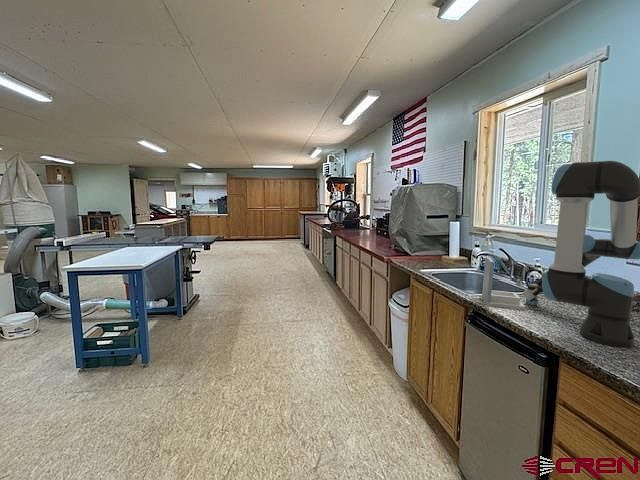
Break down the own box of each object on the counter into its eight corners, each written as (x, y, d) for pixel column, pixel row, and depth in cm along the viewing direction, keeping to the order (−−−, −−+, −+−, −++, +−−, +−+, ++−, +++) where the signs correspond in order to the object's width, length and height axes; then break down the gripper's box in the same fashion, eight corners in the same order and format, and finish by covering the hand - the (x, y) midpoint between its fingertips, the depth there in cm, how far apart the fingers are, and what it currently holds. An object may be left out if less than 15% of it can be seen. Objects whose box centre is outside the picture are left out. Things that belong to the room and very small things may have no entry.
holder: (524, 309, 153) (529, 264, 151) (486, 305, 158) (490, 261, 156) (516, 299, 170) (520, 258, 168) (482, 296, 175) (485, 256, 173)
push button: (540, 304, 162) (542, 284, 161) (542, 307, 158) (544, 286, 156) (524, 302, 165) (526, 282, 164) (525, 304, 161) (527, 284, 159)
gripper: (582, 277, 146) (536, 308, 153) (567, 270, 163) (526, 298, 170) (569, 264, 147) (524, 295, 154) (555, 258, 164) (515, 287, 171)
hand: (525, 296), depth 162 cm, fingers closed on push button, 5 cm apart
